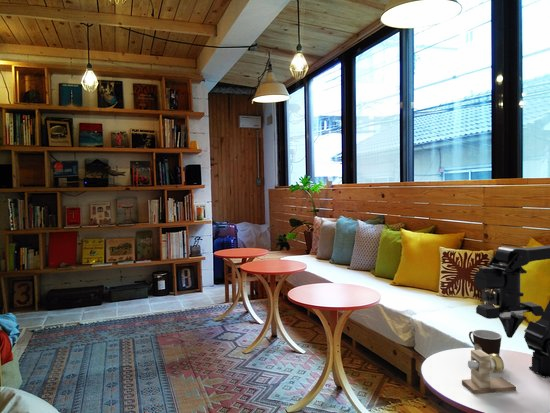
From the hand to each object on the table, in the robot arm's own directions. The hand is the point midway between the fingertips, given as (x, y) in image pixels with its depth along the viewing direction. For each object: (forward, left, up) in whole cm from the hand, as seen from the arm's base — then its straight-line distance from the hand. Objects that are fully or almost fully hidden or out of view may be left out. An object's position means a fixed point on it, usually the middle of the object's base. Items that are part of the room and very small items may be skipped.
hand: (509, 337), depth 119 cm
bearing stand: (+10, +5, -12) cm, 17 cm away
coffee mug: (0, -11, -13) cm, 17 cm away
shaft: (+12, +5, -8) cm, 15 cm away
